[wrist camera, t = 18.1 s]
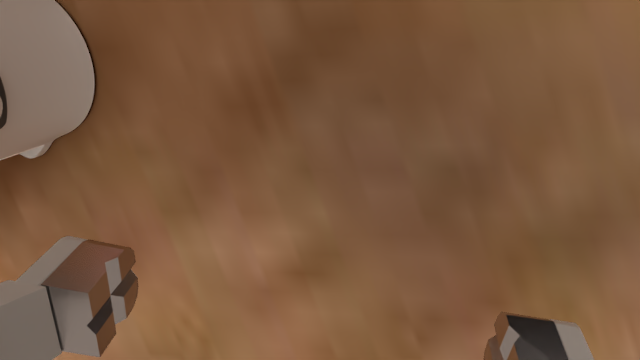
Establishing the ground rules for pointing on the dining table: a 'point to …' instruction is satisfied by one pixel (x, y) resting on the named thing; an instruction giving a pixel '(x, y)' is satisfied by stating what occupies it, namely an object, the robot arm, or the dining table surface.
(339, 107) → the dining table surface
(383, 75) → the dining table surface
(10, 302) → the robot arm
